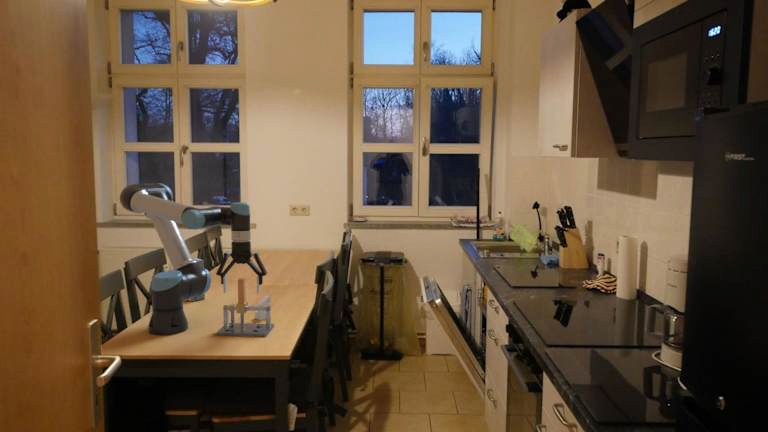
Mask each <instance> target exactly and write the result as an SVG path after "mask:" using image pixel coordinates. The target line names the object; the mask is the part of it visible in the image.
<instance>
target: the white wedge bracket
mask: <svg viewBox="0 0 768 432" xmlns="http://www.w3.org/2000/svg"><path fill="white" fill-rule="evenodd" d="M271 303H272V302H271V295H270V294H267V295H266V296H264V297H263V298H262V299H261V300H260V301H259V302H258V303H257V305H256V306H270V310H271V311H272V309H271V308H272V307H271ZM254 319H255V320H259V321H262V320H266V311H254Z"/></svg>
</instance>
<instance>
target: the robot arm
mask: <svg viewBox="0 0 768 432" xmlns="http://www.w3.org/2000/svg"><path fill="white" fill-rule="evenodd" d="M121 190H122V191H120V194H119V202H120V206H122V207H123V208H124V209H125V210H126V211H128V212H132V213H134V214H142V213H144V216H145V218H146V219H150V220H151V221H152V224H153V226H154V228H155V230H156V233H157V235H158V238H159V239H160V242H161V244H162V246H163V248H164V251H165V253H166V255H167V257H168V260H169V262H170V264H171V266H172V268H173V269H171V270H165V271H164V270H163V271H161V272H158V273H156V274H154V275H153V277H152V278H151V286H150V288H151V306H152V307H151V309H152V310H151V311H152V313H151V315H150V319H149V322H148V326H147V327H148V328H147V329H148V333H149V334H152V335H156V336H157V335H158V336H165V335H167V336H168V335H174V334H178V333H183V332H186V330H188V328H189V322H188V319H187V316H186V313H185V311H184V301H187V300H186V299H189V298H192V297H196V296H200V295H202V294H204V293H205V294H206V293H207V292H208V291H209V289H210V288H211V283H212V276H211V273H210V272H209V270H208V269H207V268H205V267H204V268H203V267H200V265H199V263H198V261H195V260H193V259H192V258H193V257H192V255H191V252H190V251H189V248H188V246H187V244H186V241H185V240H184V238H183V235H182V233H181V231H180V229H179V226H178V225H177V223H178V224H182V225H183V227H184V228H185V229H187V230H199V229H204V228H211V227H217V226H229V227H230V233H231V235H230V236H231V237H230V238H231V242H230V243H231V244H230V246H231V252H228V251H226V252H224V253H223V258H222V261H221V262H220V265H219V267H218V269H217V271H216V273H215V275H216V276H219V277H220V283H221V285H222V286H223V294H224V293H225V294H226V293H228V290H229V289H228V288H229V287H228V275H227V273H228V272H229V271H230V270H231V268H232V267H233V266H234V265H235V264H236V265H240V264H242V265H245V264H247V266H249V267H250V268H251V270H252V271H253V272H254V273H255V274H256V275H257V277H256V294H260V293H261V286H262V285H263V283H264V279H263V277H264V276H266V275H267V274H268V272H267V270H266V268H265V265H264V264H263V262H262V260H261V258H260V253H259V251H258V252H253V253H252V250H251V249H252V248H251V247H252V245H251V207H250V204H249V203H248V202H243V201H242V202H240V201H239V202H232V203H230V206H217V205H216V206H209V207H205V208H199V207H198V208H197V207H195V206H190V205H187V204H182V203H179V202H176V201H174V200H173V199H174V194H173V191H172V189H171V188H170V187H169V186H168V185H166V184H164V183H159V182H151V183H133V184H129V185H127V186H125V187H124V188H123V189H121ZM230 257H231V259H232V260H231V261H230V262H229V264H228V265H227V267H226V268H225V266H226V264H227V261H228V259H229V258H230ZM252 258H253V259H254V260H255V262H256V264H257V265H256V264H255V263H254V262H253V260H252ZM257 266H258V267H257Z"/></svg>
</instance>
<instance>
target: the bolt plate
mask: <svg viewBox="0 0 768 432" xmlns="http://www.w3.org/2000/svg"><path fill="white" fill-rule="evenodd" d="M234 323H235V326H234V327H231V322H229V326H228V327H224V325H223V326H222V327H220V328H219V330H217V331H216V332H215V336H218V337H219V336H220V337H221V336H222V337H223V336H224V337H257V338H258V337H260V338H261V337H265V338H266V337H268V335H269V334H270V333H271V331H273V329H274V327H275V324H274V323H271V327H270V328H266V323H249V322H247V323H245V322H244V326H241V322H239V323H238V322H234Z"/></svg>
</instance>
